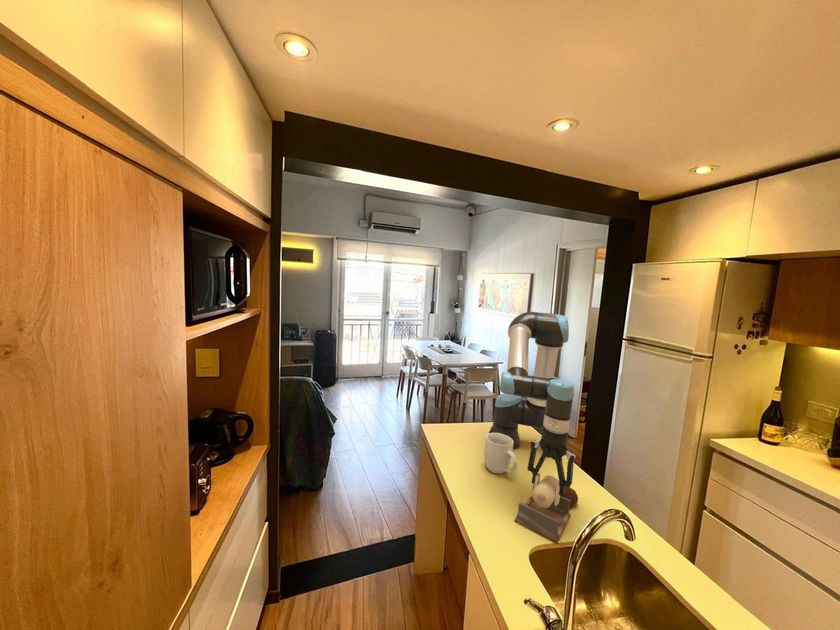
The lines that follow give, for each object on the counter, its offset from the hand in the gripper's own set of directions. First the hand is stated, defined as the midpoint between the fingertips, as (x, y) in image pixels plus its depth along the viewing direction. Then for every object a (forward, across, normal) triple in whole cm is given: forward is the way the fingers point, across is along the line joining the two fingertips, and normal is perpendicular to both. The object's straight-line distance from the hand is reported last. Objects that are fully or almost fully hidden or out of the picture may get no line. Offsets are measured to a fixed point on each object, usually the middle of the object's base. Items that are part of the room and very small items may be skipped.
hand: (545, 498), depth 107 cm
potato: (+7, +2, +14) cm, 16 cm away
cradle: (+7, 0, 0) cm, 7 cm away
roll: (0, 0, 0) cm, 1 cm away
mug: (+7, -23, +16) cm, 29 cm away
